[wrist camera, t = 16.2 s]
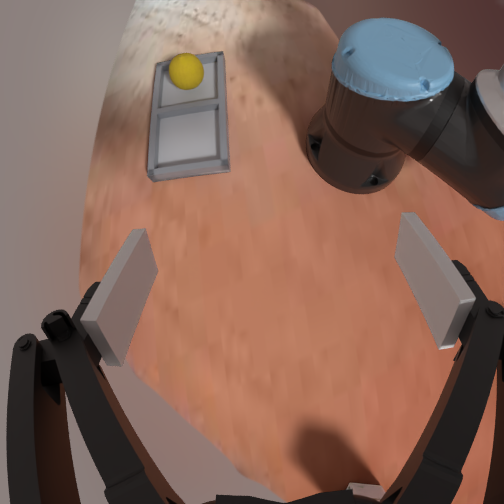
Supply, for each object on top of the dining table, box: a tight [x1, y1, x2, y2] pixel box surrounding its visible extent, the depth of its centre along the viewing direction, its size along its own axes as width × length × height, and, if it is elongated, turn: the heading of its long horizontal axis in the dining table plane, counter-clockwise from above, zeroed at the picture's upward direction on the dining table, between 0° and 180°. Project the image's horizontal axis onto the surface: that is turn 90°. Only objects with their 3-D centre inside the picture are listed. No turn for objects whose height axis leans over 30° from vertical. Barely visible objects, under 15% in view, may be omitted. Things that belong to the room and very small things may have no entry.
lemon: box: [169, 53, 204, 90], centre depth 45 cm, size 6×6×8 cm
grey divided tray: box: [147, 51, 231, 182], centre depth 48 cm, size 23×12×2 cm, turn 4°
